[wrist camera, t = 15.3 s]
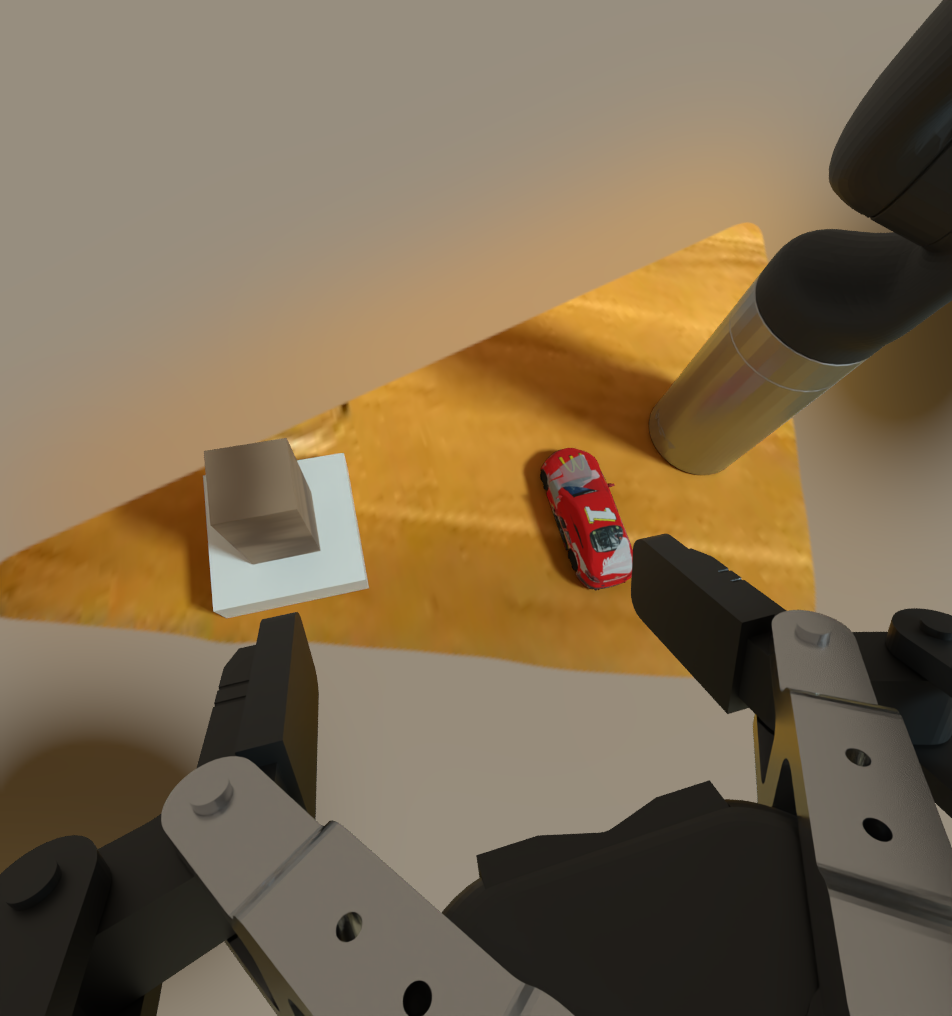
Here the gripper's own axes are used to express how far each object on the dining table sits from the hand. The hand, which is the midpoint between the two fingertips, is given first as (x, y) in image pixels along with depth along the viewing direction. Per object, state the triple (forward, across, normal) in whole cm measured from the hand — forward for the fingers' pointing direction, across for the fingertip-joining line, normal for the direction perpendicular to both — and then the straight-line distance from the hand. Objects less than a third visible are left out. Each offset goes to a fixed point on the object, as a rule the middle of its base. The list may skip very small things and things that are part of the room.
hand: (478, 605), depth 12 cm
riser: (+31, +9, +12) cm, 35 cm away
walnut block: (+29, +9, +10) cm, 32 cm away
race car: (+29, -16, +15) cm, 37 cm away
